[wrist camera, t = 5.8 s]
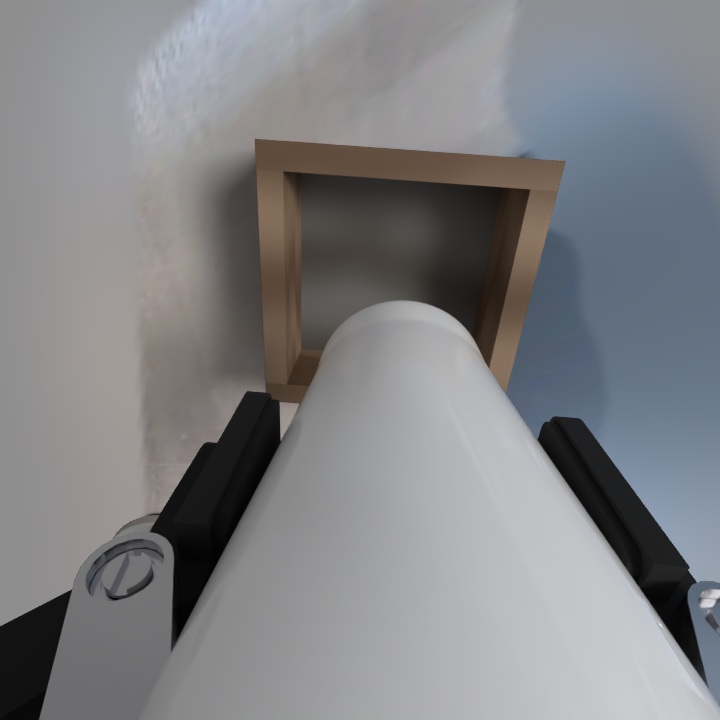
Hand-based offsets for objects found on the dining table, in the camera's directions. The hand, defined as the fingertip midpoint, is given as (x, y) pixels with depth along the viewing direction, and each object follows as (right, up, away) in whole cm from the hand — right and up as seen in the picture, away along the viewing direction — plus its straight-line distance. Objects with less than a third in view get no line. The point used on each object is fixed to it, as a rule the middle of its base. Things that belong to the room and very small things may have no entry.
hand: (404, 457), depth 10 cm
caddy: (+1, +8, +16) cm, 18 cm away
